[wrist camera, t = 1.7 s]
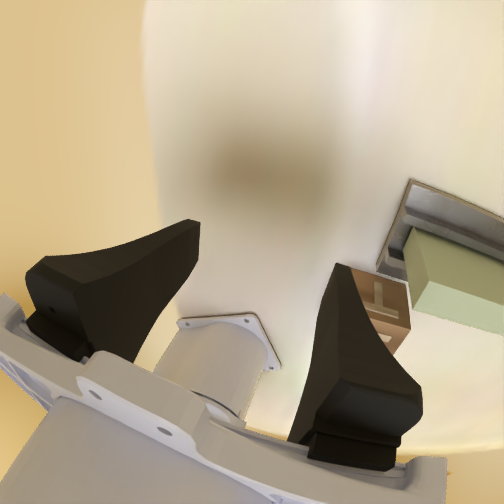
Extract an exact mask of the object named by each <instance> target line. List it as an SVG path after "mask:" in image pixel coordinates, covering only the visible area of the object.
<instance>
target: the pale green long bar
mask: <svg viewBox="0 0 504 504" xmlns="http://www.w3.org/2000/svg"><path fill="white" fill-rule="evenodd" d="M403 254H404V260H405V265H406V271H407V277H408V283H409V289H410V296H411V303H412V310H416V311H419V312H422V313H426V314H429V315H433V316H436V317H439V318H443V319H446V320H450V321H453V322H456V323H460V324H463V325H467V326H470V327H474V328H477V329H481V330H484V331H488V332H491V333H495V334H498V335H502V336H504V261H502V260H500V259H497V258H495V257H492V256H490V255H488V254H485V253H483V252H480V251H478V250H475V249H473V248H471V247H468V246H465V245H463V244H460V243H458V242H455V241H453V240H450V239H447V238H445V237H442V236H439V235H437V234H434V233H431V232H429V231H426V230H423V229H420V228H418V227H415V226H413V228H412V230H411V232H410V235H409V237H408V239H407V241H406V244H405V246H404V248H403Z"/></svg>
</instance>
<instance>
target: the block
mask: <svg viewBox="0 0 504 504" xmlns="http://www.w3.org/2000/svg"><path fill="white" fill-rule="evenodd" d="M351 270H352V274H353V277H354V280H355V283H356V286H357V289H358V292H359V294H360V297H361V300H362V302H363V305H364V307H365V309H366V312H367V314H368V316H369V318H370V320H371V322H372V324H373V326H374V328H375V329H376V331H377V333H378V335H379V336H380V338H381V339H382V341H383V342H384V344H385V345H386V347H387V348H388V350H389V351H390V353H391V354H392V355H393V354H394V353H395V352H396V350H397V349H398V347H399V346H400V345H401V343H402V342H403V340H404V339H405V337H406V336H407V335H408V333H409V332H410V330H411V325H410V316H409V307H408V299H407V291H406V285H405V284H402V283H399V282H395V281H392V280H389V279H386V278H383V277H379V276H376V275H373V274H370V273H366V272H363V271H360V270H357V269H353V268H351Z"/></svg>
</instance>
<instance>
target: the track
mask: <svg viewBox="0 0 504 504" xmlns="http://www.w3.org/2000/svg"><path fill="white" fill-rule="evenodd" d="M413 226H415V227H418V228H420V229H423V230H426V231H429V232H431V233H434V234H437V235H439V236H442V237H445V238H447V239H450V240H453V241H455V242H458V243H460V244H463V245H465V246H468V247H471V248H473V249H475V250H478V251H480V252H483V253H485V254H488V255H490V256H492V257H495V258H497V259H500V260H502V261H504V219H503V218H501V217H499V216H497V215H495V214H493V213H490V212H488V211H486V210H484V209H482V208H480V207H477V206H475V205H473V204H471V203H469V202H466V201H464V200H462V199H459V198H457V197H455V196H452V195H450V194H447V193H445V192H442V191H440V190H437V189H435V188H432V187H430V186H427V185H425V184H422V183H419V182H417V181H414V180H411V179H410V181H409V184H408V187H407V190H406V192H405V195H404V198H403V200H402V203H401V206H400V208H399V211H398V213H397V216H396V219H395V221H394V224H393V226H392V228H391V231H390V233H389V236H388V238H387V241H386V243H385V245H384V248H383V250H382V252H381V255H380V257H379V259H378V261H377V264H376V270H377V272H379V273H382V274H385V275H388V276H391V277H395V278H398V279H401V280H404V281H407V282H408V277H407V271H406V265H405V260H404V254H403V248H404V246H405V244H406V241H407V239H408V237H409V235H410V232H411V230H412V228H413Z"/></svg>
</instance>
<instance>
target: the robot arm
mask: <svg viewBox="0 0 504 504" xmlns="http://www.w3.org/2000/svg"><path fill="white" fill-rule="evenodd" d="M199 238H200V222H197V221H194V220H190V219H186V220H183V221H181V222H178V223H176V224H173V225H171V226H169V227H166V228H164V229H162V230H159V231H157V232H155V233H152V234H150V235H147V236H144V237H142V238H139V239H137V240H134V241H131V242H128V243H125V244H122V245H118V246H115V247H112V248H107V249H103V250H98V251H93V252H87V253H81V254H72V255H60V256H45V257H44V258H42V259H41V260H40V261H39V262H38V263H37V264H35V265H34V266H33V267H32V268H31V269H30V270H28V271H27V272H26V276H25V280H26V285H27V289H28V291H29V294H30V296H31V299H32V301H33V303H34V306H35V308H36V311H35V312H34V313H33V314H32V315H31V316H30V317H29V318H26V317H25V314H24V311H23V309H22V307H21V306H20V305H19V303H17V301H15V300H14V299H13V298H11V297H10V296H9V295H7V294H6V293H3V294H2V295H1V296H0V368H1V369H2V370H3V371H4V372H5V373H6V374H7V375H8V376H9V377H10V378H11V379H12V380H13V381H14V382H15V383H16V384H17V385H18V386H20V387H21V388H22V389H23V390H24V391H25V392H26V393H27V394H28V395H29V396H31V397H32V398H33V399H34V400H35V401H36V402H37V403H39V404H40V405H41V406H42V407H43V408H44V409H46V410H47V411H48V413H47V414H46V416H45V417H44V419H43V420H42V422H41V423H40V424H39V426H38V427H37V428H36V430H35V431H34V433H33V434H32V436H31V437H30V439H29V440H28V441H27V443H26V444H25V446H24V447H23V449H22V450H21V452H20V453H19V455H18V456H17V458H16V459H15V461H14V462H13V464H12V465H11V467H10V468H9V470H8V471H7V473H6V474H5V476H4V477H3V479H2V481H1V482H0V504H445V499H446V485H447V458H446V457H432V456H419V457H415V458H413V459H412V460H410V461H409V462H408V463H396V462H395V461H396V450H397V448H398V447H399V446H400V445H401V436H402V435H403V434H404V433H406V432H407V431H408V430H410V429H411V428H412V427H413V426H414V425H416V424H417V423H418V422H419V421H420V419H421V417H422V415H423V398H422V391H421V386H420V385H419V384H418V383H417V382H416V381H415V380H414V379H413V378H412V377H411V376H410V375H409V374H408V373H407V372H406V371H405V370H404V369H403V367H402V366H401V365H400V364H399V363H398V362H397V360H396V359H395V358H394V356H393V355H392V354H391V353H390V351H389V350H388V348H387V347H386V345H385V344H384V342H383V341H382V339H381V338H380V336H379V335H378V333H377V331H376V329H375V328H374V326H373V324H372V322H371V320H370V318H369V316H368V314H367V312H366V309H365V307H364V305H363V302H362V300H361V297H360V294H359V292H358V289H357V286H356V283H355V280H354V277H353V274H352V270H351V268H350V267H349V266H345V265H342V264H339V263H336V264H335V266H334V269H333V272H332V274H331V277H330V280H329V282H328V285H327V287H326V290H325V292H324V295H323V297H322V301H321V305H320V309H319V313H318V317H317V322H316V330H315V337H314V344H313V351H312V358H311V364H310V368H309V373H308V376H307V380H306V383H305V387H304V390H303V394H302V397H301V400H300V404H299V407H298V410H297V413H296V416H295V419H294V422H293V425H292V428H291V431H290V434H289V436H288V439H287V441H284V440H280V439H277V438H273V437H270V436H267V435H263V434H260V433H257V432H253V431H251V430H247V429H244V428H245V426H246V422H245V421H244V418H245V416H246V413H247V411H248V408H249V405H250V403H251V400H252V398H253V395H254V392H255V390H256V387H257V384H258V382H259V379H260V376H261V373H262V371H277V370H280V369H281V364H280V362H279V360H278V358H277V356H276V354H275V352H274V350H273V348H272V346H271V344H270V342H269V340H268V338H267V336H266V334H265V332H264V330H263V328H262V326H261V324H260V322H259V320H258V318H257V317H256V316H255V315H253V314H245V315H233V316H220V317H206V318H191V319H178V321H177V322H176V323H177V325H178V327H179V328H180V329H179V331H178V332H177V334H176V335H175V337H174V339H173V340H172V342H171V343H170V345H169V346H168V348H167V349H166V351H165V353H164V354H163V356H162V357H161V359H160V360H159V362H158V363H157V365H156V367H155V369H154V372H153V373H152V372H150V371H147V370H145V369H143V368H141V367H139V366H137V365H135V364H133V363H134V361H135V358H136V357H137V354H138V352H139V350H140V348H141V347H142V345H143V343H144V341H145V339H146V337H147V335H148V333H149V332H150V330H151V328H152V327H153V325H154V323H155V322H156V320H157V318H158V316H159V315H160V314H161V312H162V311H163V309H164V308H165V307H166V306H167V304H168V303H169V302H170V300H171V299H172V298H173V297H174V295H175V294H176V293H177V291H178V290H179V289H180V288H181V286H182V285H183V284H184V282H185V281H186V280H187V278H188V277H189V275H190V274H191V272H192V270H193V269H194V267H195V265H196V263H197V261H198V255H199ZM247 319H248V320H247Z"/></svg>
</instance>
